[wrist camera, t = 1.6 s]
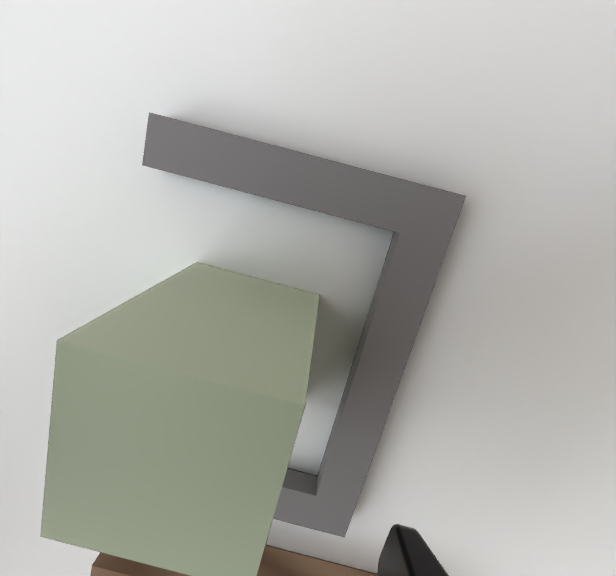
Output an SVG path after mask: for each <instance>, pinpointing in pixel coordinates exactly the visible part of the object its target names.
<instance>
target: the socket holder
mask: <svg viewBox="0 0 616 576" xmlns="http://www.w3.org/2000/svg"><path fill="white" fill-rule="evenodd" d="M91 576H190V575H186V574H182V573H179V572H175V571H171V570H167V569H163V568H159V567H156V566H152V565H148V564H144V563H140V562H136V561H133V560H129V559H125V558H121V557H117V556H113V555H110V554H106V553H102V552H100V554H99V556H98V557H97V559H96V560H95V562H94V563H93V565H92V570H91ZM257 576H378V575H376V574H373V573H369V572H365V571H361V570H357V569H354V568H350V567H346V566H342V565H338V564H334V563H331V562H327V561H323V560H319V559H315V558H312V557H308V556H304V555H300V554H296V553H292V552H289V551H285V550H281V549H277V548H273V547H270V546H266V545H265V548H264V551H263V555H262V558H261V562H260V565H259V569H258V572H257Z"/></svg>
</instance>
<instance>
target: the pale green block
mask: <svg viewBox="0 0 616 576" xmlns="http://www.w3.org/2000/svg"><path fill="white" fill-rule="evenodd" d="M319 296H320V295H319V294H315V293H311V292H307V291H304V290H300V289H296V288H292V287H288V286H285V285H281V284H277V283H273V282H269V281H266V280H262V279H258V278H254V277H250V276H247V275H243V274H239V273H235V272H231V271H228V270H224V269H220V268H216V267H213V266H209V265H205V264H201V263H197V262H196V263H194V264H193V265H191V266H189V267H187V268H185V269H184V270H182V271H180V272H178V273H176V274H175V275H173V276H171V277H169V278H168V279H166V280H164V281H162V282H160V283H159V284H157V285H155V286H153V287H151V288H150V289H148V290H146V291H144V292H143V293H141V294H139V295H137V296H135V297H134V298H132V299H130V300H128V301H126V302H125V303H123V304H121V305H119V306H117V307H116V308H114V309H112V310H110V311H109V312H107V313H105V314H103V315H101V316H100V317H98V318H96V319H94V320H92V321H91V322H89V323H87V324H85V325H83V326H82V327H80V328H78V329H76V330H75V331H73V332H71V333H69V334H67V335H66V336H64V337H62V338H60V339H58V340H57V346H56V358H55V369H54V381H53V393H52V405H51V417H50V429H49V441H48V453H47V465H46V476H45V488H44V500H43V512H42V524H41V537H44V538H48V539H52V540H56V541H60V542H64V543H67V544H71V545H75V546H79V547H83V548H87V549H90V550H94V551H98V552H102V553H106V554H110V555H113V556H117V557H121V558H125V559H129V560H133V561H136V562H140V563H144V564H148V565H152V566H156V567H159V568H163V569H167V570H171V571H175V572H179V573H182V574H186V575H190V576H257V572H258V569H259V565H260V562H261V558H262V555H263V551H264V548H265V544H266V541H267V537H268V534H269V530H270V527H271V523H272V520H273V516H274V513H275V510H276V506H277V503H278V499H279V496H280V492H281V489H282V485H283V482H284V478H285V475H286V471H287V468H288V464H289V461H290V457H291V454H292V450H293V447H294V443H295V440H296V436H297V433H298V429H299V426H300V422H301V419H302V415H303V412H304V408H305V404H306V396H307V389H308V381H309V373H310V365H311V358H312V350H313V342H314V335H315V327H316V319H317V311H318V304H319Z"/></svg>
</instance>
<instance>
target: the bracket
mask: <svg viewBox="0 0 616 576" xmlns="http://www.w3.org/2000/svg"><path fill="white" fill-rule="evenodd" d="M142 165H144V166H148V167H151V168H155V169H159V170H163V171H167V172H170V173H174V174H178V175H182V176H186V177H189V178H193V179H197V180H201V181H205V182H208V183H212V184H216V185H220V186H223V187H227V188H231V189H235V190H239V191H242V192H246V193H250V194H254V195H258V196H261V197H265V198H269V199H273V200H277V201H280V202H284V203H288V204H292V205H296V206H299V207H303V208H307V209H311V210H314V211H318V212H322V213H326V214H330V215H333V216H337V217H341V218H345V219H349V220H352V221H356V222H360V223H364V224H368V225H371V226H375V227H379V228H383V229H387V230H390V231H394V234H393V237H392V240H391V244H390V247H389V250H388V253H387V256H386V259H385V263H384V266H383V269H382V272H381V275H380V279H379V282H378V285H377V288H376V291H375V294H374V298H373V301H372V304H371V307H370V310H369V314H368V317H367V320H366V323H365V326H364V329H363V333H362V336H361V339H360V342H359V345H358V349H357V352H356V355H355V358H354V361H353V365H352V368H351V371H350V374H349V377H348V380H347V384H346V387H345V390H344V393H343V396H342V400H341V403H340V406H339V409H338V412H337V415H336V419H335V422H334V425H333V428H332V431H331V435H330V438H329V441H328V444H327V447H326V451H325V454H324V457H323V460H322V463H321V466H320V470H319V473H318V476H314V475H310V474H306V473H303V472H299V471H295V470H291V469H287V471H286V475H285V478H284V482H283V485H282V489H281V492H280V496H279V499H278V503H277V506H276V510H275V513H274V516H273V519H276V520H280V521H284V522H288V523H292V524H295V525H299V526H303V527H307V528H311V529H315V530H318V531H322V532H326V533H330V534H334V535H337V536H341V537H345V535H346V532H347V529H348V526H349V523H350V521H351V518H352V515H353V512H354V509H355V507H356V504H357V501H358V498H359V495H360V492H361V490H362V487H363V484H364V481H365V478H366V476H367V473H368V470H369V467H370V464H371V462H372V459H373V456H374V453H375V450H376V447H377V445H378V442H379V439H380V436H381V433H382V431H383V428H384V425H385V422H386V419H387V417H388V414H389V411H390V408H391V405H392V402H393V400H394V397H395V394H396V391H397V388H398V386H399V383H400V380H401V377H402V374H403V371H404V369H405V366H406V363H407V360H408V357H409V355H410V352H411V349H412V346H413V343H414V341H415V338H416V335H417V332H418V329H419V326H420V324H421V321H422V318H423V315H424V312H425V310H426V307H427V304H428V301H429V298H430V296H431V293H432V290H433V287H434V284H435V281H436V279H437V276H438V273H439V270H440V267H441V265H442V262H443V259H444V256H445V253H446V251H447V248H448V245H449V242H450V239H451V236H452V234H453V231H454V228H455V225H456V222H457V220H458V217H459V214H460V211H461V208H462V206H463V203H464V200H465V197H466V196H464V195H460V194H456V193H452V192H448V191H445V190H441V189H437V188H433V187H430V186H426V185H422V184H418V183H414V182H411V181H407V180H403V179H399V178H395V177H392V176H388V175H384V174H380V173H376V172H373V171H369V170H365V169H361V168H358V167H354V166H350V165H346V164H342V163H339V162H335V161H331V160H327V159H323V158H320V157H316V156H312V155H308V154H304V153H301V152H297V151H293V150H289V149H286V148H282V147H278V146H274V145H270V144H267V143H263V142H259V141H255V140H251V139H248V138H244V137H240V136H236V135H233V134H229V133H225V132H221V131H217V130H214V129H210V128H206V127H202V126H198V125H195V124H191V123H187V122H183V121H179V120H176V119H172V118H168V117H164V116H161V115H157V114H153V113H149V118H148V126H147V133H146V141H145V148H144V156H143V164H142Z"/></svg>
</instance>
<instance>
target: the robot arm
mask: <svg viewBox="0 0 616 576" xmlns="http://www.w3.org/2000/svg"><path fill="white" fill-rule="evenodd" d="M378 576H449V575H448V574H447V573H446V571H445V570H444V568H443V567H442V565H441V564H440V563H439V561H438V560H437V558H436V557H435V555H434V554H433V553H432V551H431V550H430V548H429V547H428V545H427V544H426V543H425V541H424V540H423V538H422V537H421V535H420V534H419V533H418V532H417V531H416V530H415V529H413V528H410V527H406V526H403V525H399V524H395V525H393V526H392V528H391V530H390V532H389V534H388V537H387V540H386V542H385V545H384V547H383V550H382V552H381V555H380V558H379V563H378Z"/></svg>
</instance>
